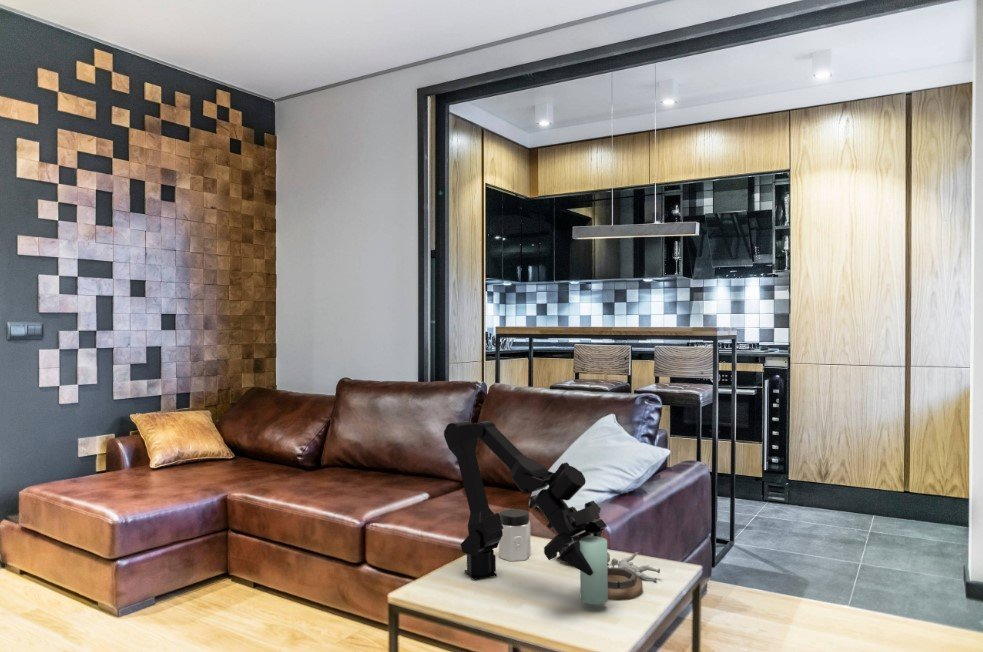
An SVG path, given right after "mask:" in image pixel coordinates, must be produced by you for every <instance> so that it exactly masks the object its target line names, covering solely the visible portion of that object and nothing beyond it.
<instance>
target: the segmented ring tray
mask: <svg viewBox="0 0 983 652" xmlns="http://www.w3.org/2000/svg"><path fill="white" fill-rule="evenodd" d="M607 570H608V601H628V600H634V599H636V598H638V597H640V596H641V595H642V594H643V592H642V591H643V581H642V578H638V577H637V575H636V573H634V572H632V571H630V570H628V569H626V570H625V569H624V568H618V567H615V566H614V567H613V566H611V567H609V566H607Z"/></svg>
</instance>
